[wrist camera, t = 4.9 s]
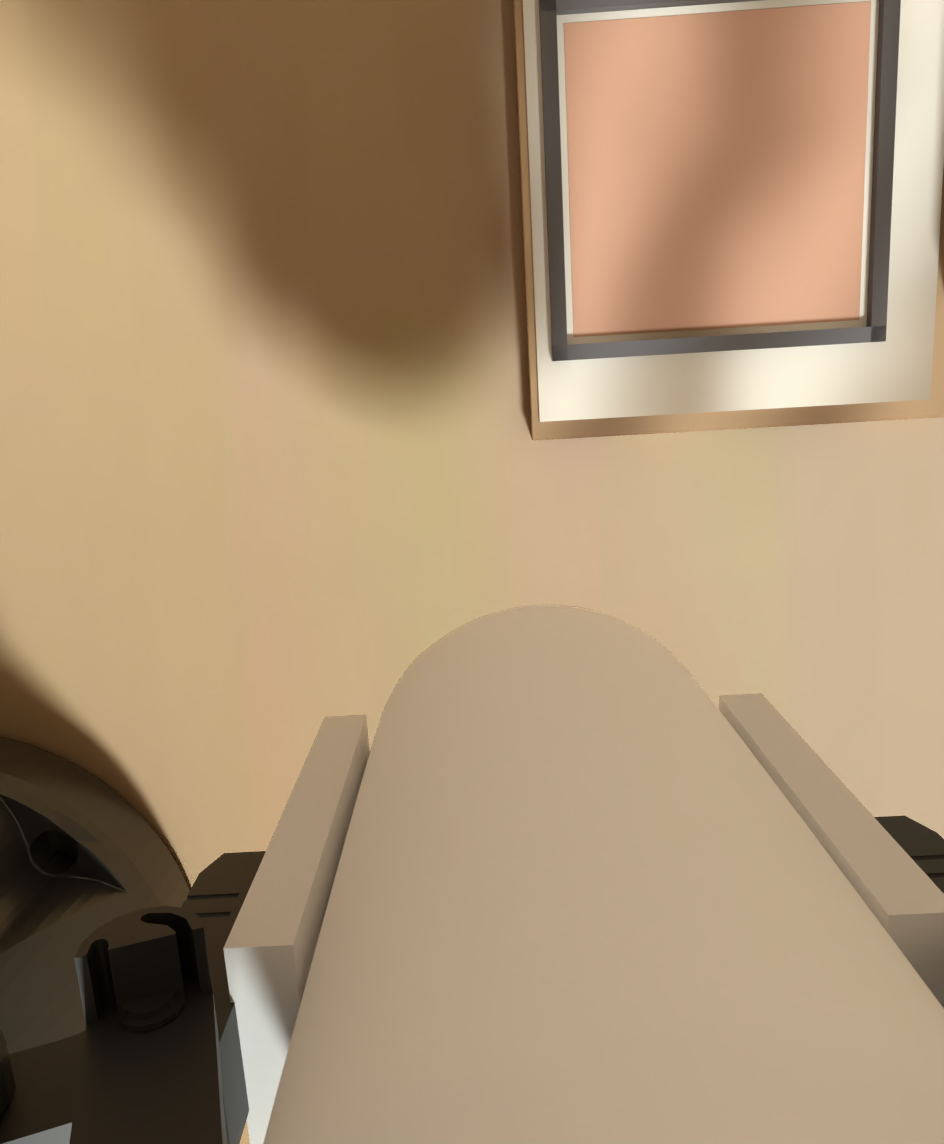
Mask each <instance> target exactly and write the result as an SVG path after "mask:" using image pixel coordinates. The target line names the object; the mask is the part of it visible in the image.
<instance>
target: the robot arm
mask: <svg viewBox="0 0 944 1144" xmlns="http://www.w3.org/2000/svg"><path fill="white" fill-rule="evenodd" d="M719 710H720V711H721V713H722V714H723V715H724V717H725V718H726V719H727V721H728V722H729V723H730V724H731V726H732V727H733V728H734V730H735V731H736V732H737V734H738V735H739V736H740V738H741V739H742V740H743V741H744V743H745V744H746V745H747V747H748V748H749V749H750V751H751V752H752V753H753V755H754V756H755V757H756V759H757V760H758V761H759V763H760V764H761V765H762V767H763V768H764V769H765V771H766V772H767V773H768V775H769V776H770V777H771V778H772V780H773V781H774V782H775V784H776V785H777V786H778V788H779V789H780V790H781V792H782V793H783V794H784V796H785V797H786V798H787V800H788V801H789V802H790V804H791V805H792V806H793V808H794V809H795V810H796V812H797V813H798V814H799V816H800V817H801V818H802V820H803V821H804V822H805V824H806V825H807V826H808V828H809V829H810V830H811V832H812V833H813V834H814V836H815V837H816V838H817V840H818V841H819V842H820V844H821V845H822V846H823V848H824V849H825V850H826V851H827V853H828V854H829V855H830V857H831V858H832V859H833V861H834V862H835V863H836V865H837V866H838V867H839V869H840V870H841V871H842V873H843V874H844V875H845V877H846V878H847V879H848V881H849V882H850V883H851V885H852V886H853V887H854V889H855V890H856V891H857V893H858V894H859V895H860V897H861V898H862V900H863V901H864V902H865V904H866V905H867V906H868V908H869V909H870V910H871V912H872V913H873V914H874V916H875V917H876V918H877V920H878V921H879V922H880V924H881V925H882V926H883V928H884V929H885V930H886V932H887V933H888V934H889V936H890V937H891V938H892V940H893V941H894V942H895V944H896V945H897V946H898V948H899V949H900V950H901V952H902V953H903V954H904V956H905V957H906V958H907V960H908V961H909V962H910V964H911V965H912V967H913V968H914V969H915V971H916V972H917V973H918V975H919V976H920V977H921V979H922V980H923V981H924V983H925V984H926V985H927V987H928V988H929V989H930V991H931V992H932V993H933V995H934V996H935V997H936V999H937V1000H938V1002H939V1003H940V1004H941V1006H942V1007H943V1008H944V839H943V838H942V837H941V836H940V835H939V834H938V833H936V832H934V831H932V830H931V829H929V828H927V827H925V826H923V825H921V824H919V823H917V822H916V821H914V820H912V819H910V818H908V817H906V816H890V817H873V816H872V814H871V813H870V812H869V811H868V810H867V809H866V808H865V807H864V806H863V805H862V803H861V802H860V801H859V800H858V799H857V798H856V797H855V796H854V795H853V794H852V792H851V791H850V790H849V789H848V788H847V787H846V786H845V785H844V784H843V783H842V781H841V780H840V779H839V778H838V777H837V776H836V775H835V774H834V773H833V772H832V770H831V769H830V768H829V767H828V766H827V765H826V764H825V763H824V762H823V761H822V759H821V758H820V757H819V756H818V755H817V754H816V753H815V752H814V751H813V750H812V749H811V747H810V746H809V745H808V744H807V743H806V742H805V741H804V740H803V739H802V738H801V736H800V735H799V734H798V733H797V732H796V731H795V730H794V729H793V728H792V727H791V725H790V724H789V723H788V722H787V721H786V720H785V719H784V718H783V717H782V716H781V714H780V713H779V712H778V711H777V710H776V709H775V708H774V707H773V706H772V705H771V703H770V702H769V701H768V700H767V699H766V698H765V697H764V696H763V695H762V694H743V695H724V696H719ZM369 754H370V750H369V739H368V728H367V717H366V715H352V716H334V717H325V718H324V720H323V722H322V725H321V727H320V729H319V732H318V734H317V736H316V738H315V741H314V743H313V745H312V747H311V750H310V752H309V754H308V757H307V759H306V761H305V763H304V766H303V768H302V770H301V773H300V775H299V777H298V779H297V782H296V784H295V786H294V789H293V791H292V793H291V795H290V798H289V800H288V802H287V804H286V807H285V809H284V811H283V814H282V816H281V818H280V820H279V823H278V825H277V827H276V830H275V832H274V834H273V836H272V839H271V841H270V843H269V846H268V848H267V850H266V851H260V852H241V853H224V854H223V855H221V856H220V857H219V858H218V859H217V860H215V861H214V862H213V863H212V864H210V865H209V866H208V867H207V868H206V869H204V870H203V871H202V872H201V873H200V874H199V875H198V877H197V879H196V881H195V883H194V884H193V886H192V888H191V890H189V888H188V885H187V883H186V881H185V879H184V876H183V874H182V873H181V871H180V869H179V867H178V865H177V863H176V861H175V860H174V858H173V857H172V855H171V853H170V852H169V850H168V849H167V847H166V846H165V844H164V843H163V842H162V840H161V839H160V838H159V836H158V835H157V834H156V832H155V831H154V830H153V829H152V828H151V826H150V825H149V824H148V823H147V822H146V821H145V819H144V818H143V817H142V816H141V815H140V814H139V813H138V812H137V811H136V810H135V809H134V808H133V807H132V806H131V805H130V804H128V803H127V802H126V801H125V800H124V799H123V798H122V797H121V796H119V795H118V794H117V793H116V792H114V791H113V790H112V789H110V788H109V787H108V786H107V785H105V784H104V783H102V782H101V781H100V780H98V779H97V778H95V777H94V776H92V775H91V774H89V773H87V772H86V771H84V770H82V769H81V768H79V767H77V766H75V765H74V764H72V763H70V762H68V761H66V760H64V759H62V758H60V757H58V756H55V755H53V754H51V753H48V752H46V751H44V750H41V749H39V748H36V747H33V746H30V745H27V744H24V743H21V742H17V741H13V740H10V739H6V738H2V737H0V1144H239V1142H240V1139H241V1136H242V1132H243V1129H244V1126H245V1123H246V1119H247V1125H248V1133H249V1140H250V1144H263V1143H264V1139H265V1135H266V1131H267V1127H268V1124H269V1120H270V1116H271V1112H272V1108H273V1105H274V1101H275V1097H276V1093H277V1089H278V1086H279V1082H280V1078H281V1075H282V1071H283V1067H284V1063H285V1060H286V1056H287V1052H288V1049H289V1045H290V1041H291V1037H292V1034H293V1030H294V1026H295V1023H296V1019H297V1015H298V1011H299V1008H300V1004H301V1000H302V997H303V993H304V989H305V985H306V982H307V978H308V974H309V971H310V967H311V963H312V960H313V956H314V952H315V949H316V945H317V941H318V938H319V934H320V930H321V927H322V923H323V919H324V916H325V912H326V908H327V905H328V901H329V897H330V894H331V890H332V886H333V883H334V879H335V875H336V872H337V868H338V865H339V861H340V857H341V854H342V850H343V847H344V843H345V839H346V836H347V832H348V828H349V825H350V821H351V818H352V814H353V810H354V807H355V803H356V800H357V796H358V793H359V789H360V785H361V782H362V778H363V775H364V771H365V768H366V764H367V761H368V757H369Z"/></svg>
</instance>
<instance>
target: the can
mask: <svg viewBox="0 0 944 1144" xmlns="http://www.w3.org/2000/svg"><path fill="white" fill-rule="evenodd" d="M263 1144H944V1008H943V1007H942V1006H941V1004H940V1003H939V1002H938V1000H937V999H936V997H935V996H934V995H933V993H932V992H931V991H930V989H929V988H928V987H927V985H926V984H925V983H924V981H923V980H922V979H921V977H920V976H919V975H918V973H917V972H916V971H915V969H914V968H913V967H912V965H911V964H910V962H909V961H908V960H907V958H906V957H905V956H904V954H903V953H902V952H901V950H900V949H899V948H898V946H897V945H896V944H895V942H894V941H893V940H892V938H891V937H890V936H889V934H888V933H887V932H886V930H885V929H884V928H883V926H882V925H881V924H880V922H879V921H878V920H877V918H876V917H875V916H874V914H873V913H872V912H871V910H870V909H869V908H868V906H867V905H866V904H865V902H864V901H863V900H862V898H861V897H860V895H859V894H858V893H857V891H856V890H855V889H854V887H853V886H852V885H851V883H850V882H849V881H848V879H847V878H846V877H845V875H844V874H843V873H842V871H841V870H840V869H839V867H838V866H837V865H836V863H835V862H834V861H833V859H832V858H831V857H830V855H829V854H828V853H827V851H826V850H825V849H824V848H823V846H822V845H821V844H820V842H819V841H818V840H817V838H816V837H815V836H814V834H813V833H812V832H811V830H810V829H809V828H808V826H807V825H806V824H805V822H804V821H803V820H802V818H801V817H800V816H799V814H798V813H797V812H796V810H795V809H794V808H793V806H792V805H791V804H790V802H789V801H788V800H787V798H786V797H785V796H784V794H783V793H782V792H781V790H780V789H779V788H778V786H777V785H776V784H775V782H774V781H773V780H772V778H771V777H770V776H769V775H768V773H767V772H766V771H765V769H764V768H763V767H762V765H761V764H760V763H759V761H758V760H757V759H756V757H755V756H754V755H753V753H752V752H751V751H750V749H749V748H748V747H747V745H746V744H745V743H744V741H743V740H742V739H741V738H740V736H739V735H738V734H737V732H736V731H735V730H734V728H733V727H732V726H731V724H730V723H729V722H728V721H727V719H726V718H725V717H724V715H723V714H722V713H721V711H720V710H719V709H718V707H717V706H716V705H715V704H714V702H713V701H712V700H711V698H710V697H709V696H708V695H707V693H706V692H705V691H704V689H703V688H702V687H701V686H700V684H699V683H698V682H697V681H696V679H695V678H694V677H693V676H692V674H691V673H690V672H689V671H688V670H687V669H686V667H685V666H684V665H683V664H682V663H681V662H680V661H679V660H678V659H677V658H676V657H675V656H674V655H673V654H672V653H671V652H670V651H669V650H668V649H667V648H666V647H664V646H663V645H662V644H661V643H660V642H658V641H657V640H656V639H654V638H653V637H651V636H650V635H648V634H647V633H645V632H644V631H642V630H641V629H639V628H637V627H635V626H633V625H631V624H630V623H627V622H625V621H623V620H621V619H618V618H616V617H613V616H611V615H608V614H605V613H602V612H598V611H594V610H590V609H586V608H581V607H574V606H565V605H532V606H523V607H517V608H511V609H507V610H502V611H499V612H495V613H492V614H489V615H486V616H483V617H481V618H478V619H476V620H473V621H471V622H469V623H467V624H465V625H463V626H461V627H459V628H457V629H456V630H454V631H452V632H450V633H449V634H447V635H446V636H444V637H443V638H441V639H440V640H438V641H437V642H436V643H434V644H433V645H432V646H430V647H429V648H428V649H426V650H425V651H424V652H423V653H422V654H420V655H419V656H418V657H417V658H416V659H415V660H414V661H413V662H412V664H411V665H410V666H409V667H408V668H407V670H406V671H405V672H404V674H403V675H402V676H401V678H400V679H399V681H398V683H397V684H396V686H395V688H394V690H393V692H392V693H391V695H390V697H389V699H388V701H387V704H386V706H385V708H384V711H383V713H382V716H381V719H380V722H379V725H378V728H377V731H376V734H375V737H374V740H373V744H372V747H371V750H370V754H369V757H368V761H367V764H366V768H365V771H364V775H363V778H362V782H361V785H360V789H359V793H358V796H357V800H356V803H355V807H354V810H353V814H352V818H351V821H350V825H349V828H348V832H347V836H346V839H345V843H344V847H343V850H342V854H341V857H340V861H339V865H338V868H337V872H336V875H335V879H334V883H333V886H332V890H331V894H330V897H329V901H328V905H327V908H326V912H325V916H324V919H323V923H322V927H321V930H320V934H319V938H318V941H317V945H316V949H315V952H314V956H313V960H312V963H311V967H310V971H309V974H308V978H307V982H306V985H305V989H304V993H303V997H302V1000H301V1004H300V1008H299V1011H298V1015H297V1019H296V1023H295V1026H294V1030H293V1034H292V1037H291V1041H290V1045H289V1049H288V1052H287V1056H286V1060H285V1063H284V1067H283V1071H282V1075H281V1078H280V1082H279V1086H278V1089H277V1093H276V1097H275V1101H274V1105H273V1108H272V1112H271V1116H270V1120H269V1124H268V1127H267V1131H266V1135H265V1139H264V1143H263Z"/></svg>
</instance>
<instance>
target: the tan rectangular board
mask: <svg viewBox="0 0 944 1144" xmlns="http://www.w3.org/2000/svg"><path fill="white" fill-rule="evenodd" d="M513 10H514V33H515V57H516V80H517V104H518V127H519V151H520V174H521V198H522V222H523V245H524V269H525V292H526V316H527V339H528V363H529V386H530V410H531V433H532V440H549V439H566V438H584V437H602V436H619V435H637V434H654V433H672V432H690V431H707V430H725V429H742V428H760V427H778V426H795V425H813V424H830V423H848V422H866V421H883V420H901V419H918V418H936V417H944V0H513Z"/></svg>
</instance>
